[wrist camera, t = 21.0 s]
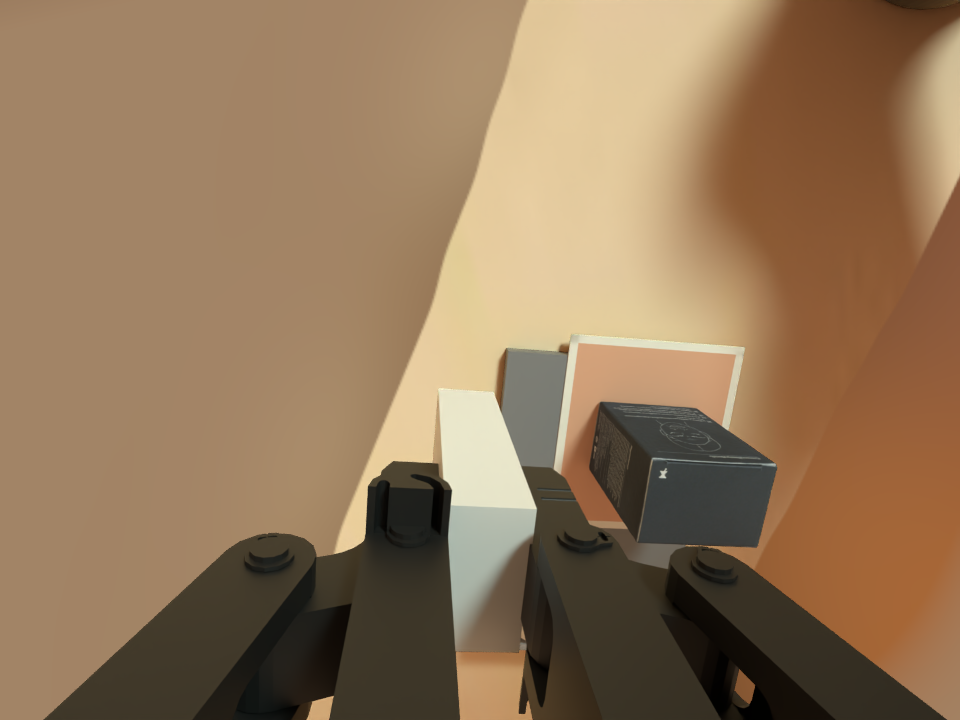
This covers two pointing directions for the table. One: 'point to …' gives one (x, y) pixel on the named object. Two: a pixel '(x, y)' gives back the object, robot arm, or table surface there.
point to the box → (680, 476)
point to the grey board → (608, 378)
